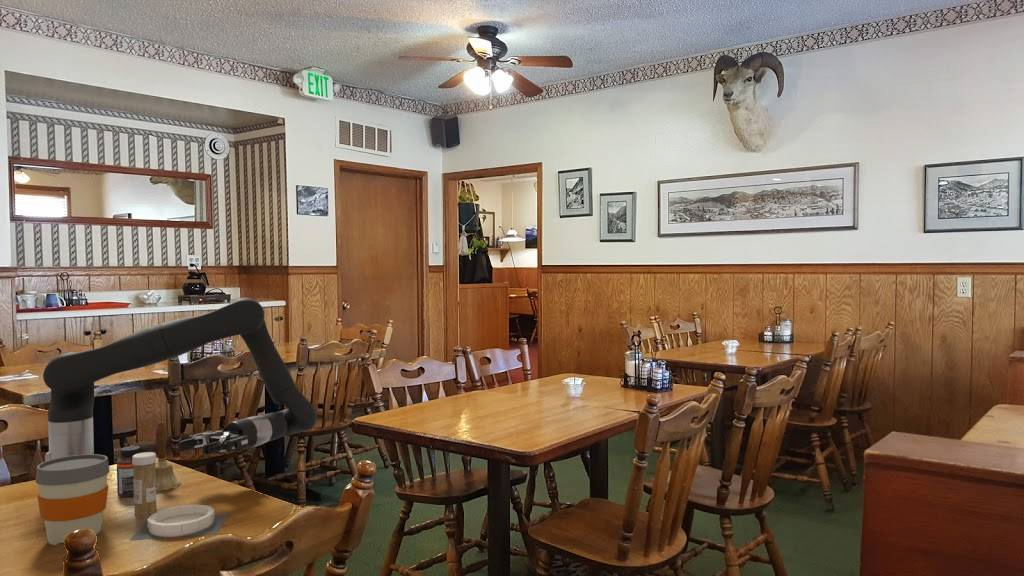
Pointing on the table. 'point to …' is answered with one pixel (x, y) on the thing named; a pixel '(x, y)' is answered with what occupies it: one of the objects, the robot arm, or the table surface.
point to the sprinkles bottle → (144, 484)
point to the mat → (213, 529)
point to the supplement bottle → (126, 472)
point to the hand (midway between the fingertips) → (191, 448)
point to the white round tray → (180, 520)
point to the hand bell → (163, 462)
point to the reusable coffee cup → (72, 494)
